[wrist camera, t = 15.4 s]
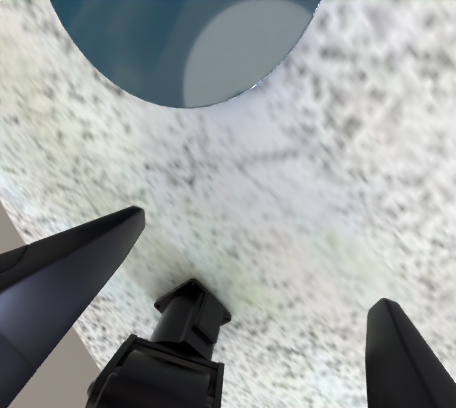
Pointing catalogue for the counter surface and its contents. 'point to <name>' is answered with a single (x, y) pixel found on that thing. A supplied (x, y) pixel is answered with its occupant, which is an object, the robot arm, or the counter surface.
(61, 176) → the counter surface
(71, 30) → the pot lid
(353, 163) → the counter surface
